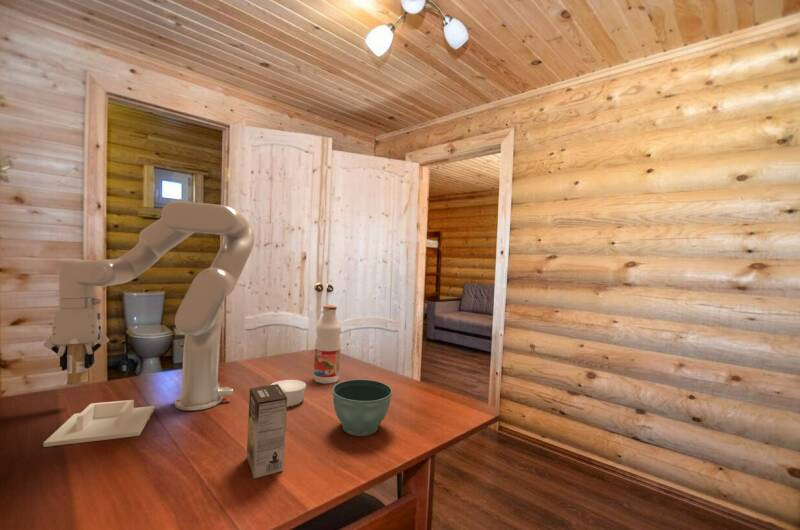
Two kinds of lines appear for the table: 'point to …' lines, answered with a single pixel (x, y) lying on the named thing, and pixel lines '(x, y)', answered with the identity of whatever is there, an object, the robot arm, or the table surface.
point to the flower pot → (361, 405)
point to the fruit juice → (327, 347)
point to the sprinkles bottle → (76, 363)
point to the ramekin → (292, 390)
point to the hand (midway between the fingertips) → (77, 367)
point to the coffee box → (266, 430)
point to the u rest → (102, 423)
